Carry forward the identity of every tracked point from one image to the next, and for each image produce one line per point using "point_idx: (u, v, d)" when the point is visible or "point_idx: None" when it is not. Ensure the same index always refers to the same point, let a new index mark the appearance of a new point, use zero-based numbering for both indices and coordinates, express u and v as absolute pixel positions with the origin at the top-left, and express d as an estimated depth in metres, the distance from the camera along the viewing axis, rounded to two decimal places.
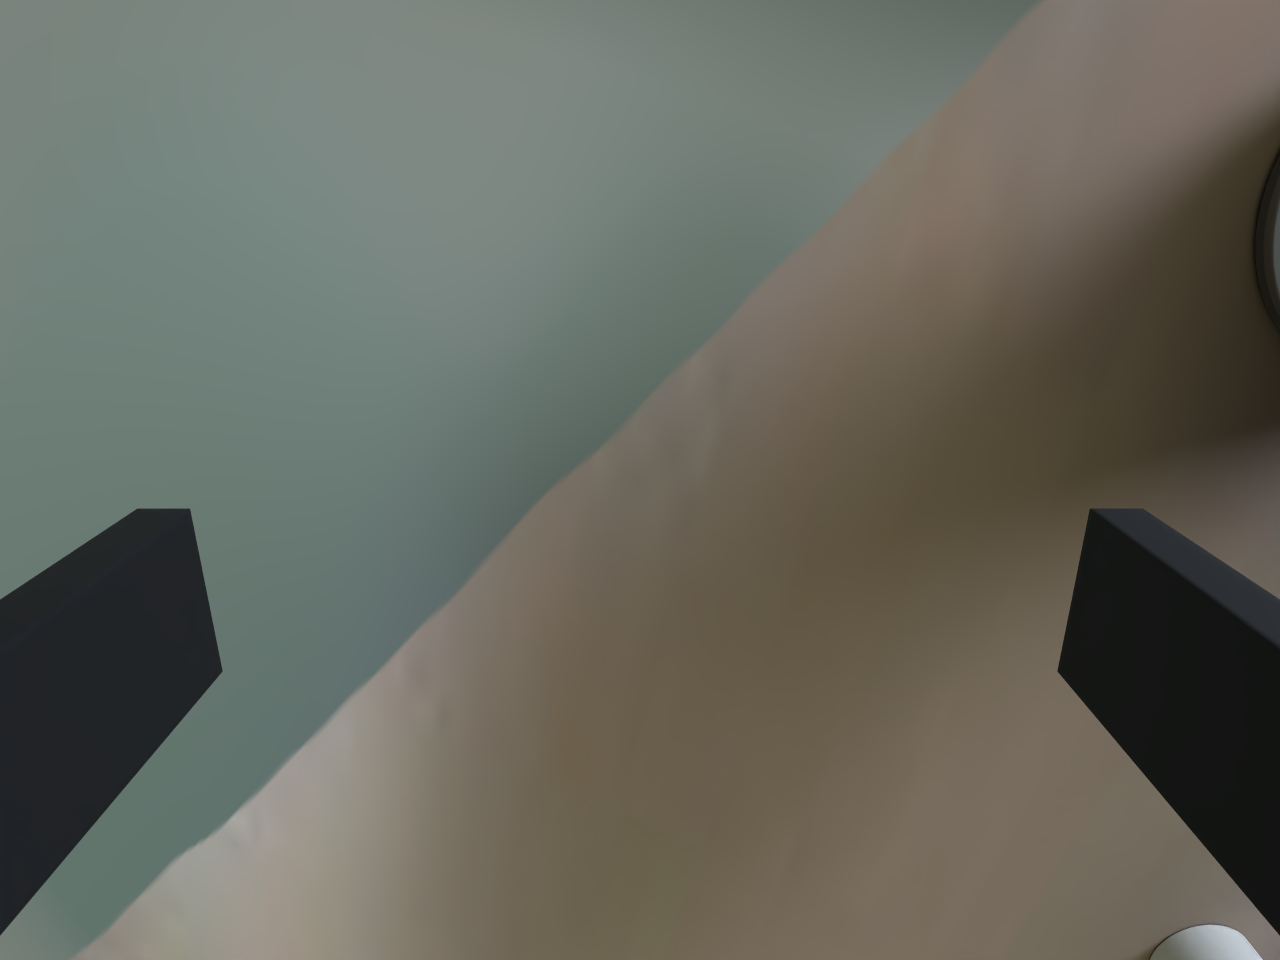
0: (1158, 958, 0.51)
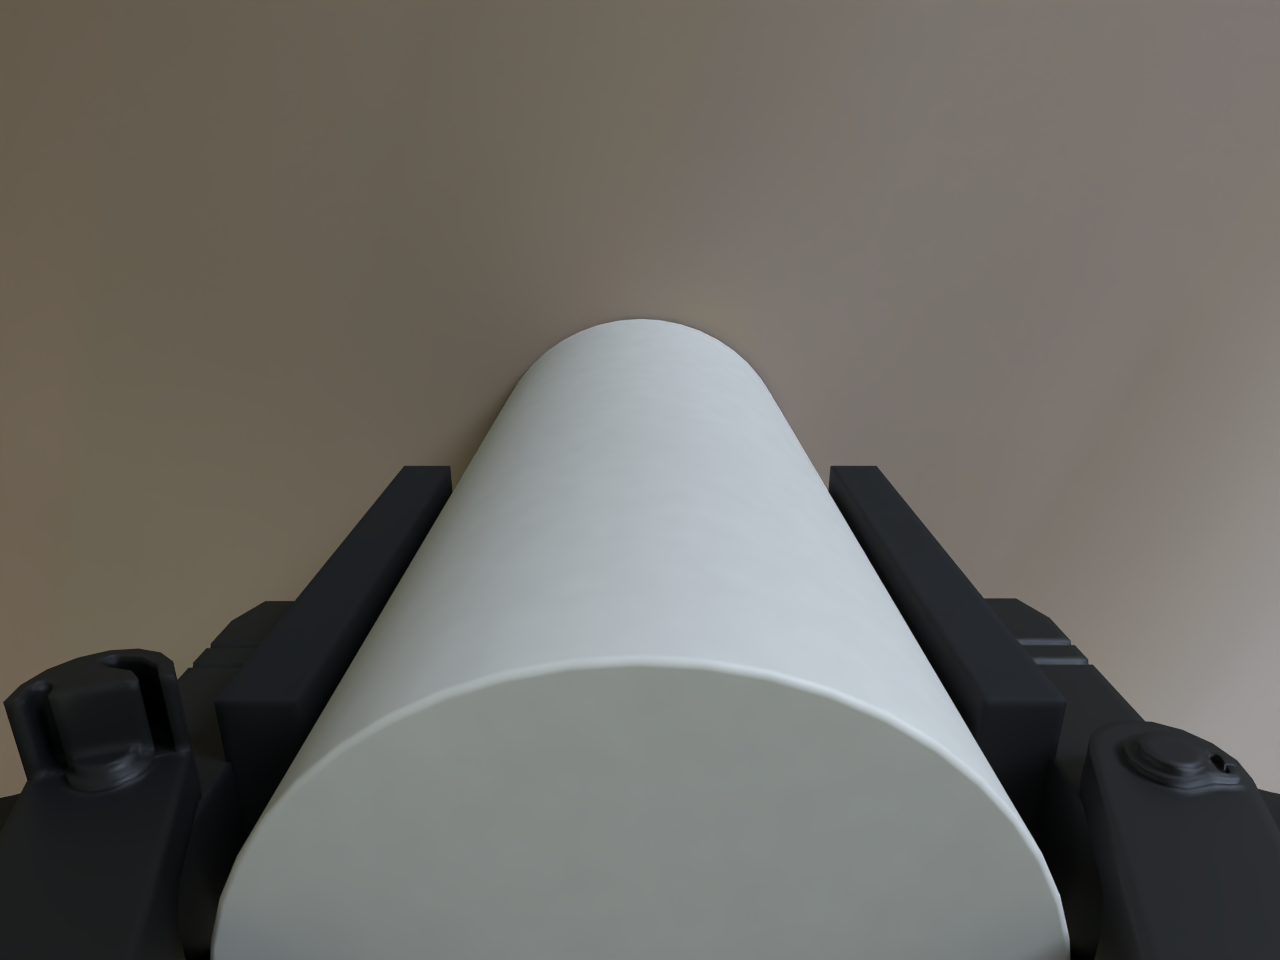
0: None
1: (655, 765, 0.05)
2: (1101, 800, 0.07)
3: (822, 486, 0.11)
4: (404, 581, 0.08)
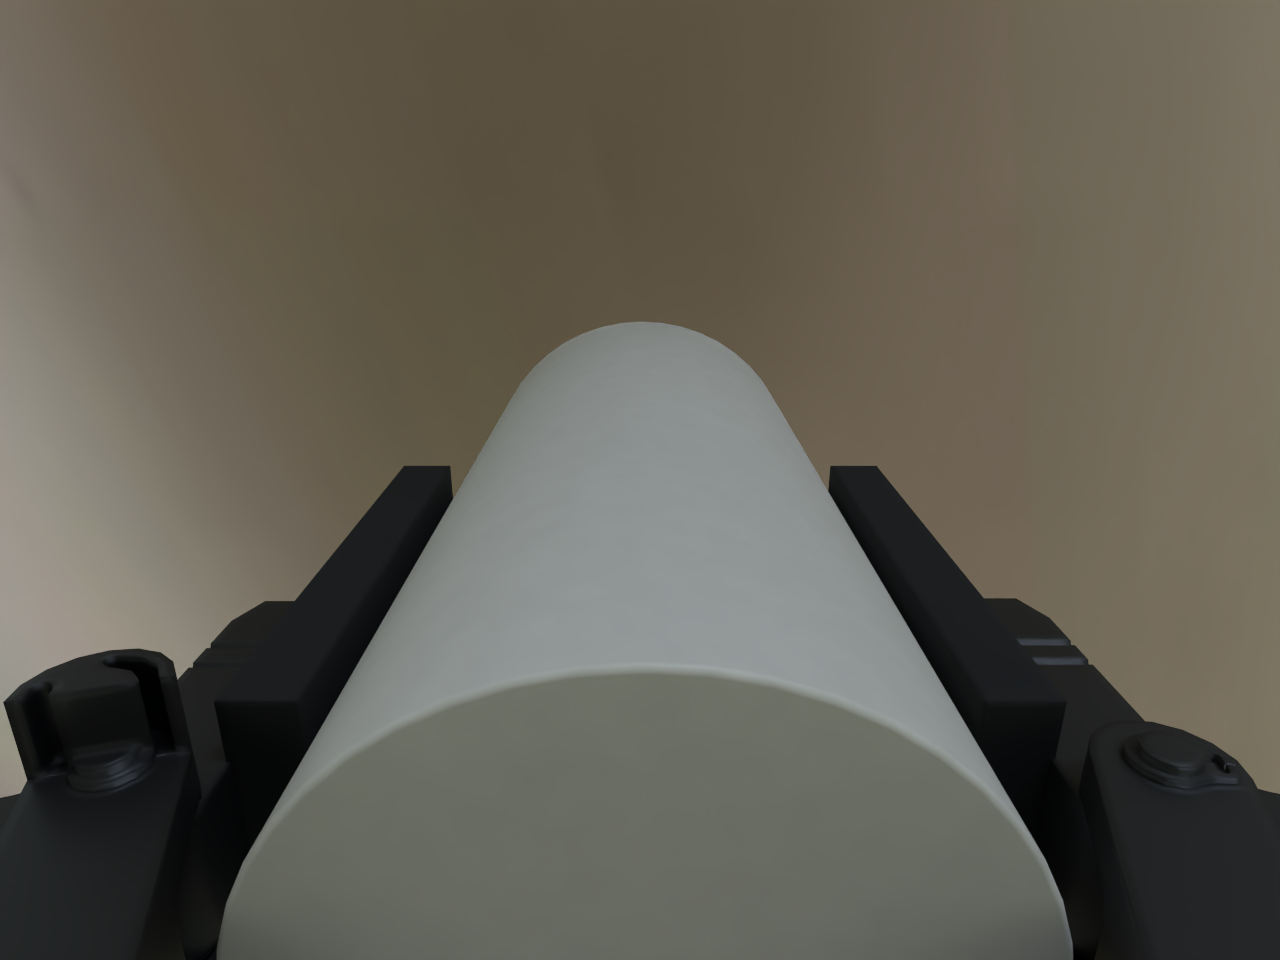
0: None
1: (662, 772, 0.05)
2: (1101, 800, 0.07)
3: (824, 490, 0.11)
4: (408, 586, 0.08)
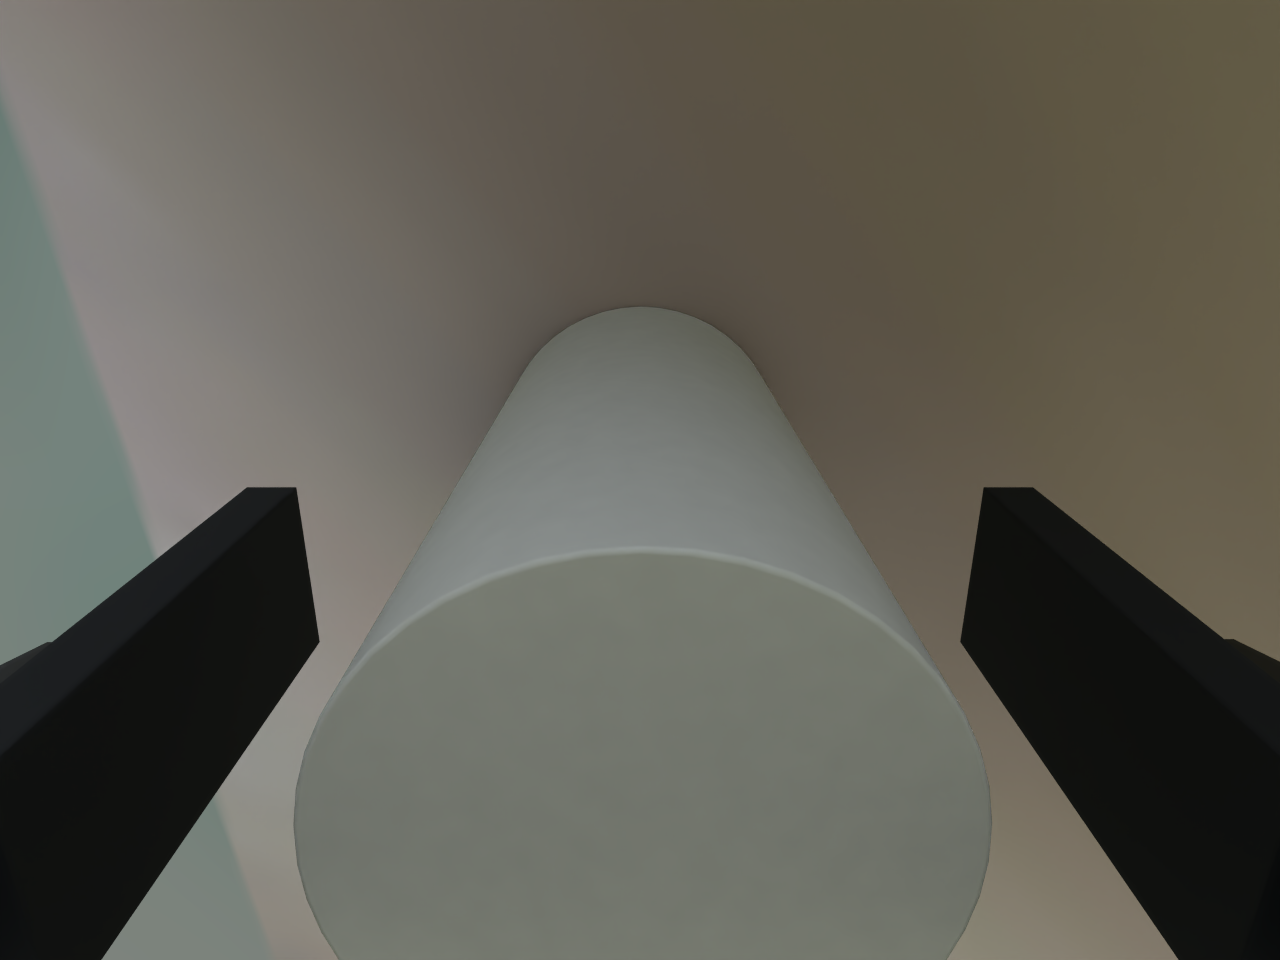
0: None
1: (655, 637, 0.07)
2: None
3: (802, 448, 0.12)
4: (439, 519, 0.10)
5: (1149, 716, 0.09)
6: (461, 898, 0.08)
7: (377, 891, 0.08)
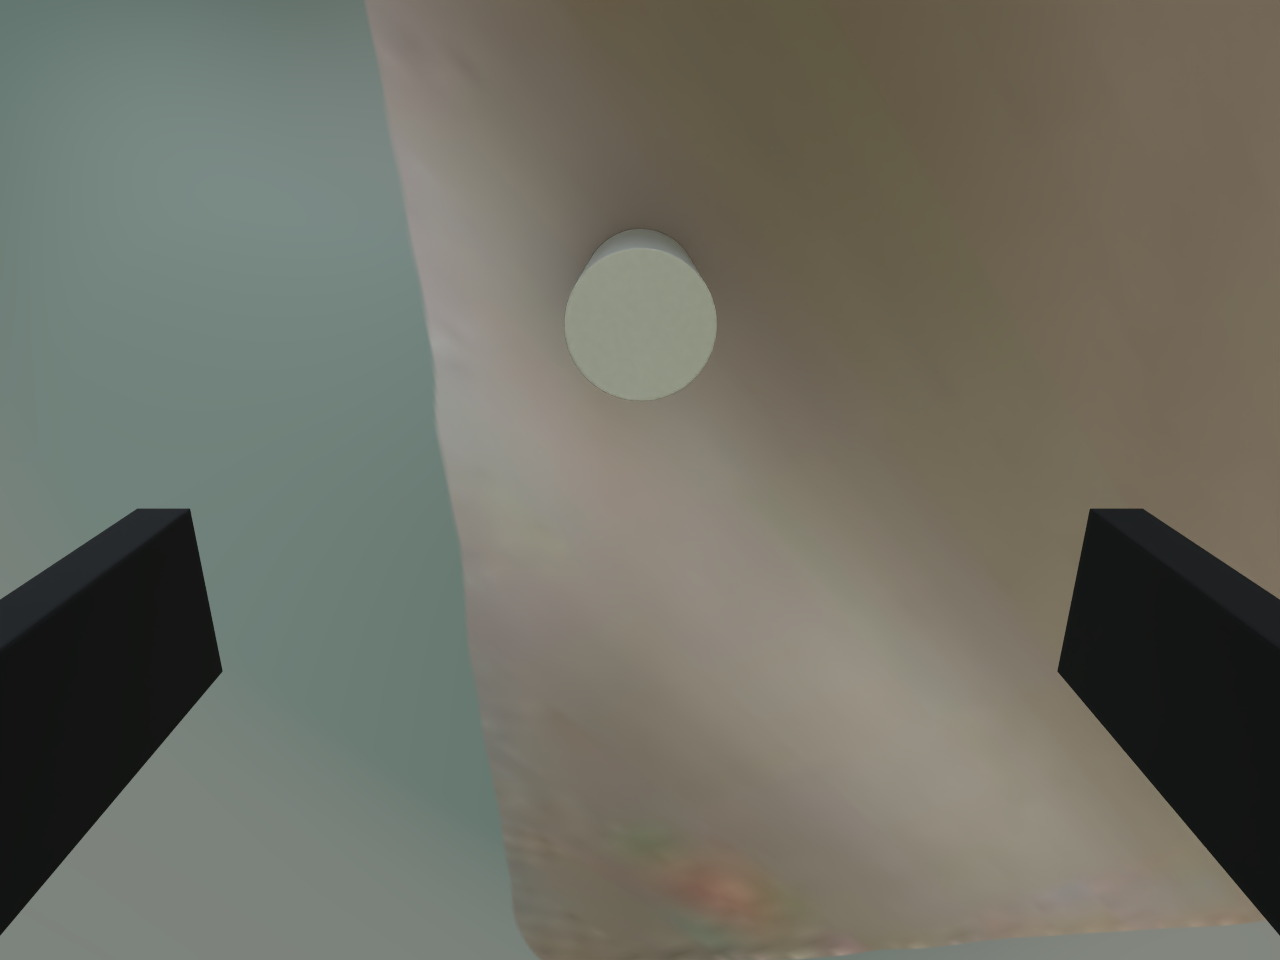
0: None
1: (643, 268, 0.33)
2: None
3: None
4: (586, 267, 0.36)
5: None
6: (600, 336, 0.34)
7: (581, 334, 0.34)
